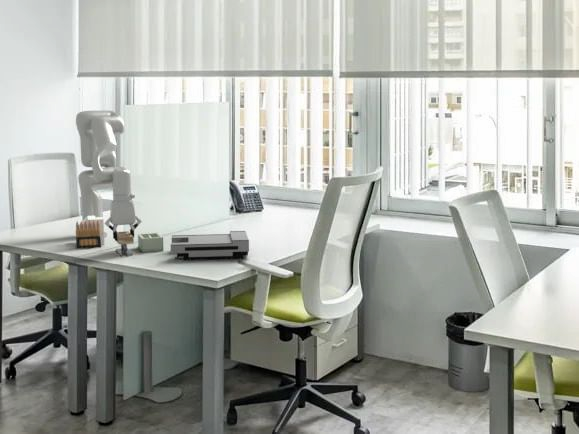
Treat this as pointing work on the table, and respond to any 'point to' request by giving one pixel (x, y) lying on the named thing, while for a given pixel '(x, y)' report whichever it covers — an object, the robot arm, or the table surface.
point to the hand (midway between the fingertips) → (123, 239)
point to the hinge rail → (124, 250)
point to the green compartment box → (150, 242)
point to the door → (124, 238)
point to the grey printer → (211, 246)
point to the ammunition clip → (87, 235)
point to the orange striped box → (101, 225)
